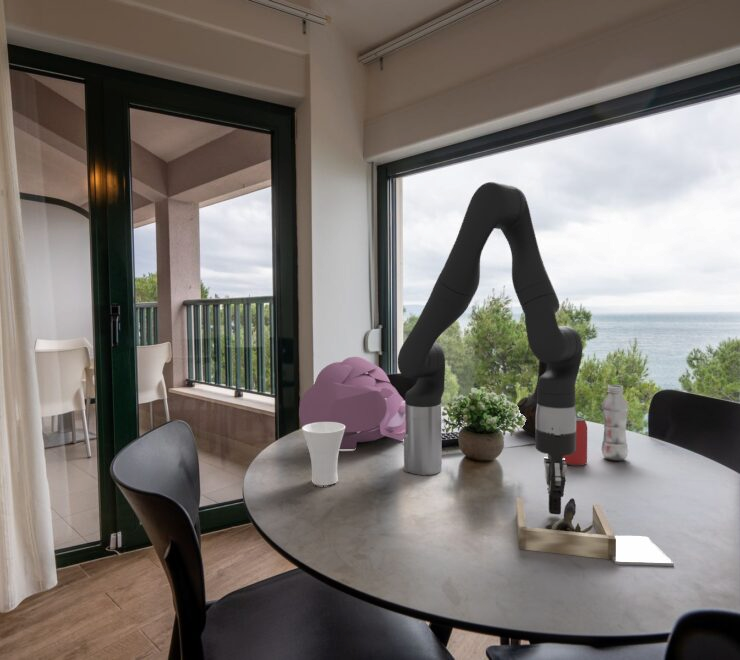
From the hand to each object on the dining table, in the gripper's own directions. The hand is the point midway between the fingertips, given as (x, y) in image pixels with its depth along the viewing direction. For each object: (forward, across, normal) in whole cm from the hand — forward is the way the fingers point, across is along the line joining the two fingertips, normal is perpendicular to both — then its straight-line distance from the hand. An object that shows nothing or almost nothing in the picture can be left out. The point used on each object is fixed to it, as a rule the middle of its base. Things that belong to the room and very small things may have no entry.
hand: (554, 512), depth 97 cm
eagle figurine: (+1, +9, +1) cm, 9 cm away
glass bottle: (+1, -63, +3) cm, 63 cm away
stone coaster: (+1, +11, +12) cm, 16 cm away
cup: (+1, -7, -52) cm, 52 cm away
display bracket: (+1, +7, 0) cm, 7 cm away
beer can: (+1, -36, +8) cm, 37 cm away
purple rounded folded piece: (+2, -42, -52) cm, 67 cm away
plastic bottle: (+1, -41, +19) cm, 45 cm away
